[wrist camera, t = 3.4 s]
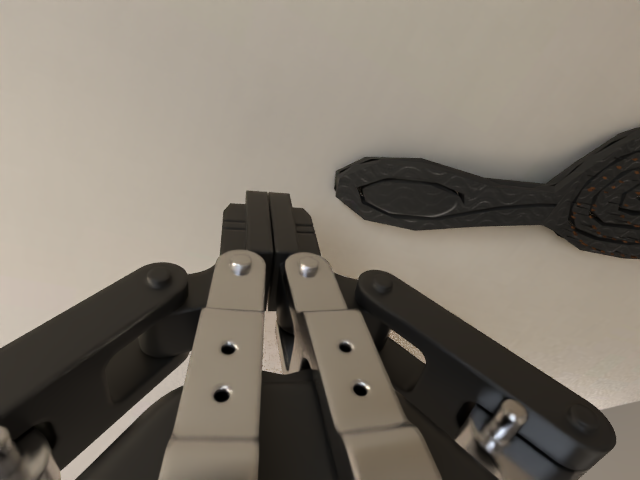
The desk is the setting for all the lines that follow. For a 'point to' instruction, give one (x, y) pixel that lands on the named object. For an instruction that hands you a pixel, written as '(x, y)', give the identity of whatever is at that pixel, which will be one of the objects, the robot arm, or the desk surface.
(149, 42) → the desk surface
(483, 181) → the hairbrush
